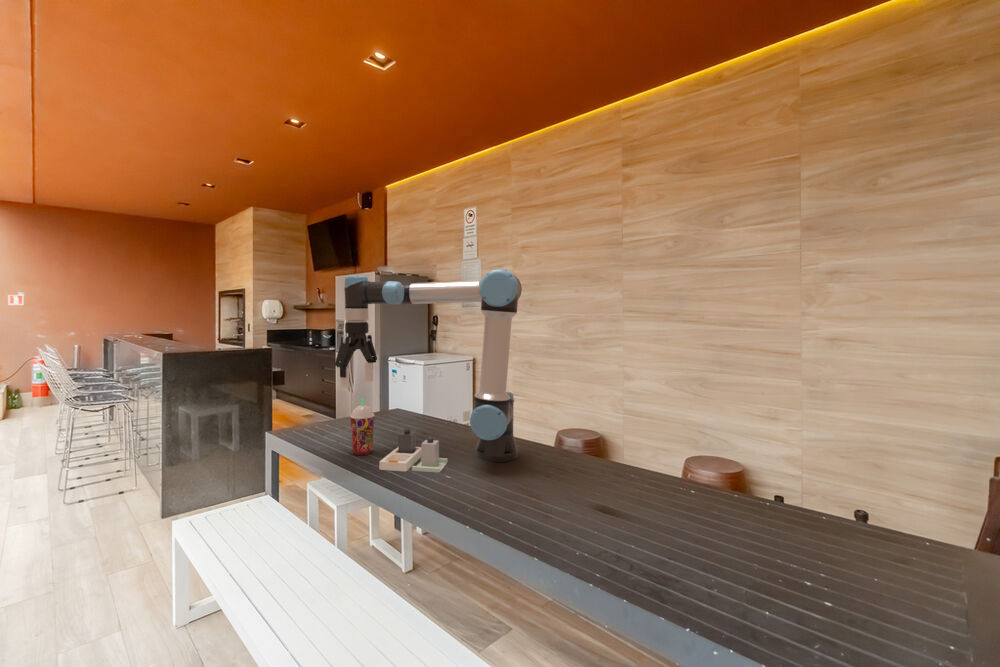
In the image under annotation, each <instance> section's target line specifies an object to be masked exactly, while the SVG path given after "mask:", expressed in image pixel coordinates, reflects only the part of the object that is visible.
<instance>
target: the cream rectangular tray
mask: <svg viewBox="0 0 1000 667" xmlns="http://www.w3.org/2000/svg"><path fill="white" fill-rule="evenodd" d="M416 436H417V434H416V431H411V428H410V427H406V428H404V429H403V431H402V432H400V433H398V439H397V440H398V446H397V448H395V449H394V450H392V451H391V452H390V453H388V454H387V455H386V456H384V457H383V458H382V459H381V460H380V461H378V462H379V465H378V466H379V470H381V471H394V472H407V471H409V470H410V469H411V468H412V466H414V465H415V464H416V463H417V462H418V461H419V460H421V457H422V446H416V445H417V444H416V442H417V441H416Z"/></svg>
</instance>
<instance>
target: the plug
mask: <svg viewBox="0 0 1000 667" xmlns="http://www.w3.org/2000/svg"><path fill="white" fill-rule="evenodd" d="M421 447H422V464H421V466H426V467H437V466H438V465H439V458H440V440H438V439H437V440H436V439H434V436H428V437H427V438H426V439H425V440H424V441H423V442H422V443H421Z"/></svg>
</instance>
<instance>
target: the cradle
mask: <svg viewBox="0 0 1000 667" xmlns="http://www.w3.org/2000/svg"><path fill="white" fill-rule="evenodd" d="M448 461H449V460H448V458H444V457H439V465H438V466H437V467H426V466H421V464H422V457H421V458H420V462H418V463H417V465H412V466H411V471H412V472H425V473H440V472H441V471H442V470H443V469H444V468H445V466H446V465H447V464H448Z"/></svg>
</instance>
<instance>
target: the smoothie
mask: <svg viewBox="0 0 1000 667" xmlns="http://www.w3.org/2000/svg"><path fill="white" fill-rule="evenodd" d="M349 416H350V427H351V428H350V429H351V444H352V451H353V453H354V455H357V456H366V455H369V454H371V453H372V450H373V444H374V441H373V440H374V430H375V429H374V426H375V425H374V424H375V413H374V412H373V409H372V408H371V407H370V406H368V405H366V404H364V397H361V403H360V404H359V405H358V406H356V407H355V408H353V410H352V411H351V414H350V415H349Z"/></svg>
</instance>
